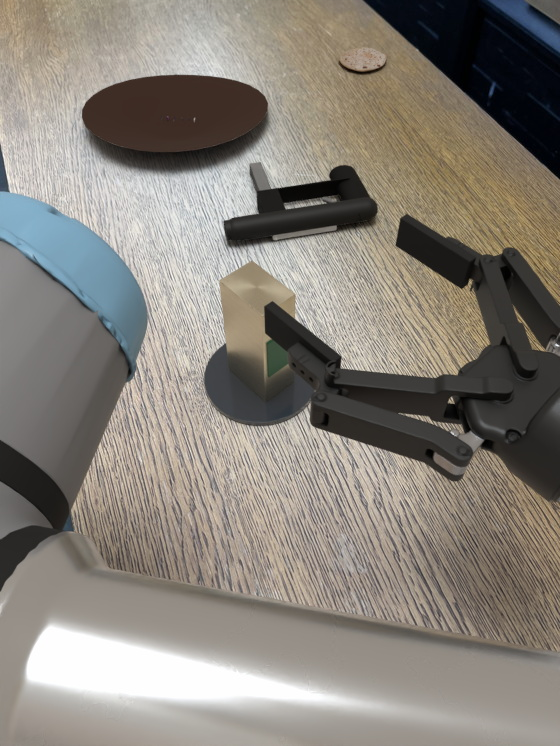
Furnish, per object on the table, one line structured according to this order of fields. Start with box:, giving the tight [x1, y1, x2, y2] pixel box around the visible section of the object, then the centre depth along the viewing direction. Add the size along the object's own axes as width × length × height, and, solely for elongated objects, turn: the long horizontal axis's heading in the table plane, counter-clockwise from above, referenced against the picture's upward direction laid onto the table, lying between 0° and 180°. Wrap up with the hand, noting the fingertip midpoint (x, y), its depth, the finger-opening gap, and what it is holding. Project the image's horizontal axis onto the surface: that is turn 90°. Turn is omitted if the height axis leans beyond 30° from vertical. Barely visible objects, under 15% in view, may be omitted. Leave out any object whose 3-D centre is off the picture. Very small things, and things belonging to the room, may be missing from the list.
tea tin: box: [218, 260, 297, 402], centre depth 64 cm, size 6×4×13 cm, turn 42°
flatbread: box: [338, 46, 388, 73], centre depth 110 cm, size 8×8×1 cm
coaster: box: [203, 342, 316, 427], centre depth 69 cm, size 12×12×1 cm
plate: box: [81, 74, 269, 153], centre depth 99 cm, size 28×28×4 cm
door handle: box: [222, 161, 379, 242], centre depth 86 cm, size 3×20×16 cm
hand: (338, 270), depth 47 cm, fingers open, 13 cm apart
